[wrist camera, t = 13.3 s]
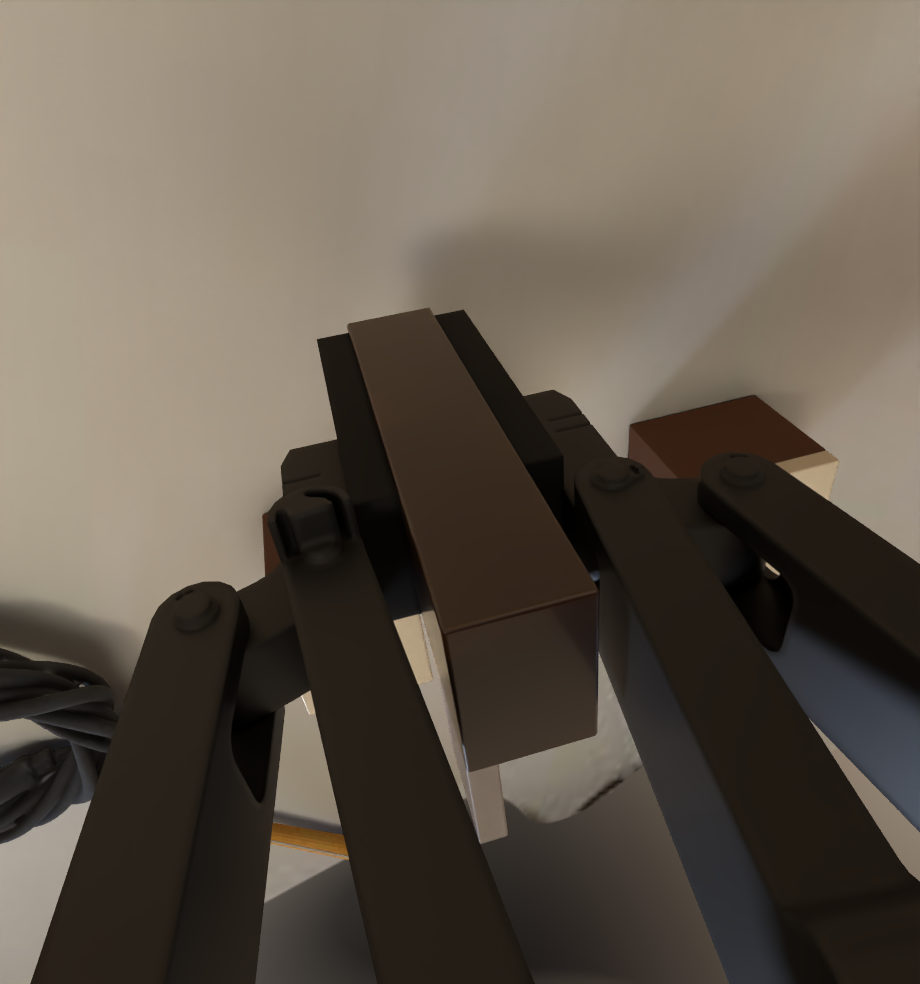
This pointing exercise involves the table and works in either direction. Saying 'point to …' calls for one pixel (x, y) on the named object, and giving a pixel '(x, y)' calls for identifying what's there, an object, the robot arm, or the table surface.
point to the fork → (309, 840)
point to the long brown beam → (481, 562)
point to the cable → (65, 712)
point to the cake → (730, 443)
